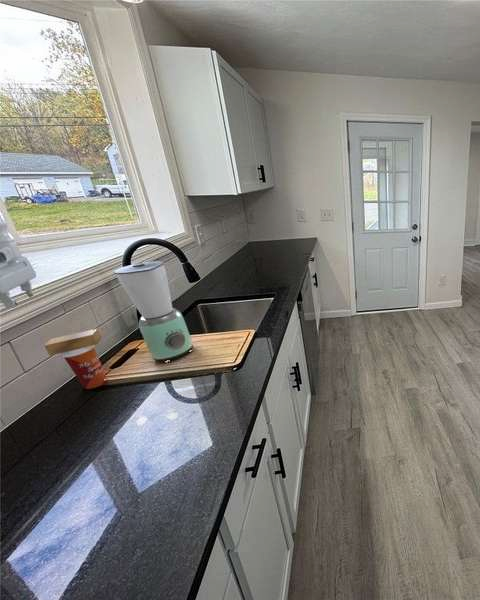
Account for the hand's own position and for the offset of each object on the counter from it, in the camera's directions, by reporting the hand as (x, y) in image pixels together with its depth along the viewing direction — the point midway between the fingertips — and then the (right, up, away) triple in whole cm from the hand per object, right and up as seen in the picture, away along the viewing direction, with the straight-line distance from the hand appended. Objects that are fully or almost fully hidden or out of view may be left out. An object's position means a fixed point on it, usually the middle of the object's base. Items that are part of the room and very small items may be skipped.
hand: (21, 301), depth 88 cm
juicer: (+22, -20, +29) cm, 42 cm away
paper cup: (+8, -27, +14) cm, 32 cm away
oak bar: (+7, -14, +9) cm, 18 cm away
